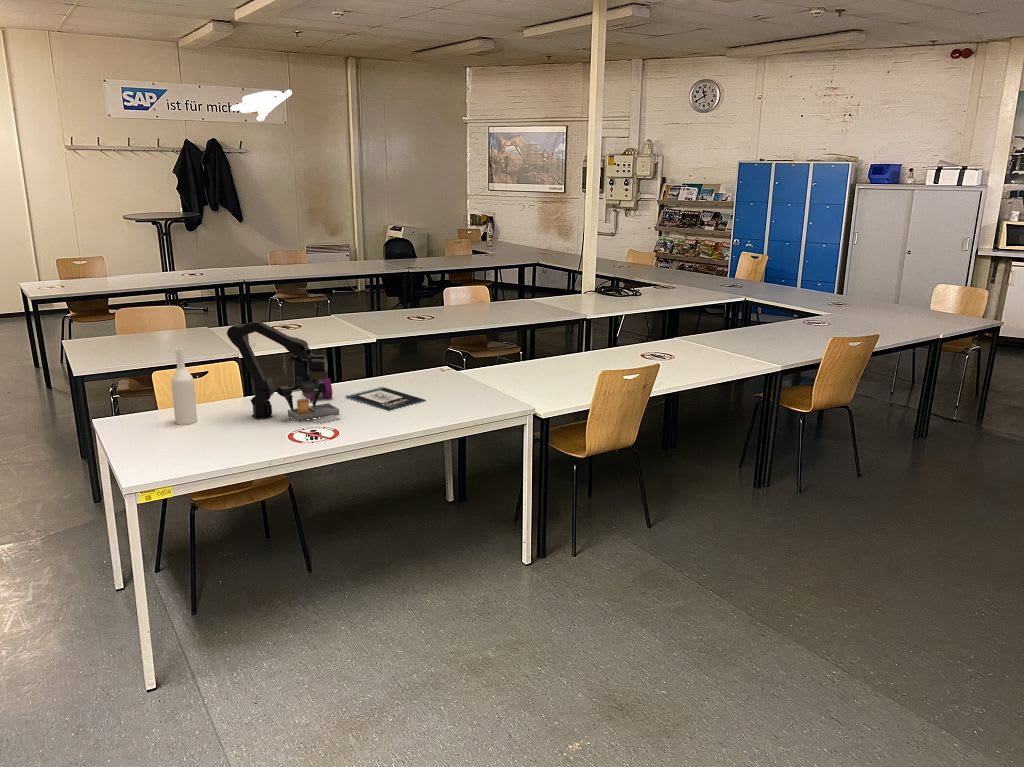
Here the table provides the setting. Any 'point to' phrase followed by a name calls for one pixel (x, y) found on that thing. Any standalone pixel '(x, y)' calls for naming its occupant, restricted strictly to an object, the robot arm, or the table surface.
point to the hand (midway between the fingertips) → (303, 408)
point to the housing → (315, 412)
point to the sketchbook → (385, 398)
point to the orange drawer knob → (302, 406)
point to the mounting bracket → (326, 393)
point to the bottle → (183, 393)
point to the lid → (326, 419)
